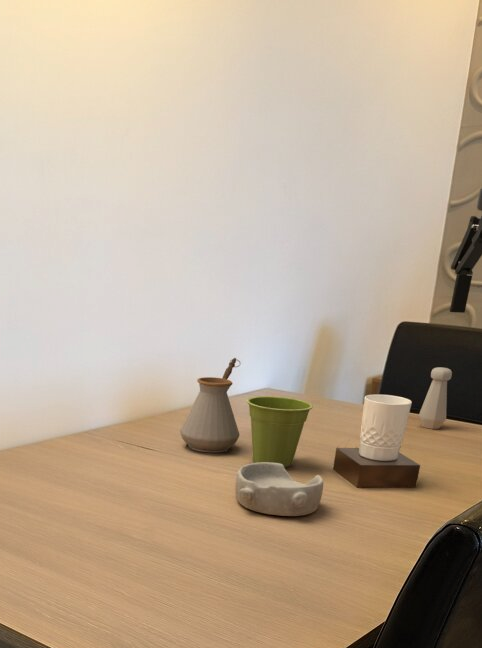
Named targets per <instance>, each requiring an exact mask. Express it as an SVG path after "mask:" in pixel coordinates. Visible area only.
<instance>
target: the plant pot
mask: <svg viewBox="0 0 482 648" xmlns="http://www.w3.org/2000/svg"><path fill="white" fill-rule="evenodd" d="M246 403H247V404H248V408H249V409H248V411H249V417H250V425H251V426H250V427H251V430H250V431H251V448H252V450H251V451H252V452H251V453H252V463H259V462H271V463H280V464H283V465H284V468H285V469H286V468H287V467H288V468H289V466H292V465H293V462H294V459H295V456H296V452H297V448H298V445H299V442H300V439H301V435H302V431H303V428H304V426H305V423H306V421H307V419H308V416H309V413H310V410H312V409H313V408H314V405H313V404H312V403H310V402H308V401H306V400H301V399H297V398H291V397H284V396H276V395H275V396H274V395H261V396H252V397H248V398H247V399H246Z"/></svg>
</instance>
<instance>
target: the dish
mask: <svg viewBox="0 0 482 648" xmlns="http://www.w3.org/2000/svg"><path fill="white" fill-rule="evenodd" d="M323 490H324V479H323V477H322V476H321V475H315V476H314V477H313V478H312V479H311V480H310V481H309V482H306V483H302V482H299V481H296V480H294V479H293V477H291V474H289V473H288V471H287V469H286V467H285V468H284V465H283V464H280V463H271V462H259V463H254V462H252V463H248V464H247V463H246V464H244V465H242V466H241V467H240V468H239V469H238V470H237V472H236V477H235V483H234V494H235V499H236V500H237V502H238V503H239V504H240V505H241V506H243V507H244V508H246V509H248V510H251V511H253V512H256V513H260V514H266V515H271V516H272V515H273V516H282V517H301V516H306V515H310V514H312V513H314V512H316V510H317V509H318V508H319V506H320V503H321V500H322V497H323V492H324V491H323Z"/></svg>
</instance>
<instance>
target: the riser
mask: <svg viewBox="0 0 482 648" xmlns="http://www.w3.org/2000/svg"><path fill="white" fill-rule="evenodd" d="M333 460H334V461H333V468H332V469H333V470H334V471H335V472H336V473H337V474H339V475H340V476H341V477H342V478H343V479H345V480H347V481H348V482H349V483H351V484H352V485H353V486H354V487H356V488H358V489H359V488H360V489H361V488H362V489H363V488H368V489H369V488H370V489H371V488H373V489H374V488H417V484H418V479H419V474H420V469H421V464H419V463H417V462H416V461H414V460H413V459H411V458H409V457H408V456H406V455H404V454H403V453H401V452H399V456H398V458H397V459H396V460H392V461H377V460H372V459H368V458H365V457H362V456H360V454H359V447H336V448H335V453H334V459H333Z"/></svg>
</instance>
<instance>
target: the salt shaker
mask: <svg viewBox="0 0 482 648" xmlns="http://www.w3.org/2000/svg"><path fill="white" fill-rule="evenodd" d="M452 375H453V372H452V370H451V369H450V368H448V367H440V366H439V367H434V368H432V370H431V372H430V378H431V379H432V380H431V383H430V386H429V388H428V391H427V393H426V396H425V399H424V401H423V404H422V406H421V408H420V411H419V413H418V418H419V422H420V426H421V427H422V428H425V429H430V430H439V429H441V427H442V425H444V423H445V421H446V420H447V402H448V400H447V399H448V397H447V396H448V381H450V380H451V379H452Z"/></svg>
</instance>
